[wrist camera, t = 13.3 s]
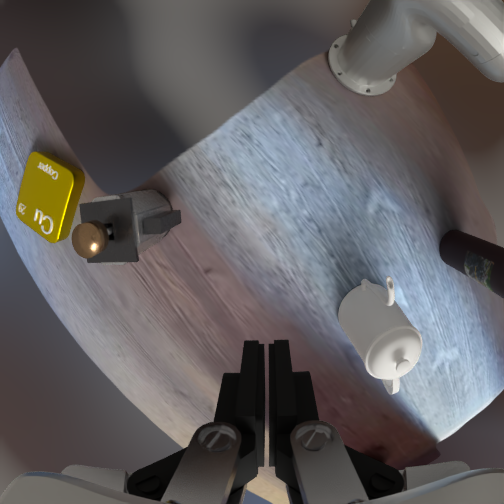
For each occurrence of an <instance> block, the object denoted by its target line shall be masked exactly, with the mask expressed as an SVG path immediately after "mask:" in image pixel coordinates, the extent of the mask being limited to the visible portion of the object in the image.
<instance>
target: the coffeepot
mask: <svg viewBox="0 0 504 504" xmlns="http://www.w3.org/2000/svg"><path fill="white" fill-rule="evenodd" d="M386 283H387V290H386V289H385V288H384V287H382V286H380V285H378V284H372V283H371V282H370V281H368V280H367V279H363V280H362V281H361V285H360V286H357V287H356V288H354V289H352V290H351V291H350V292H349V293H348V294H347V295H346V296H345V297H344V299H343V300H342V302H341V304H340V307H339V312H338V319H339V323H340V325H341V327H342V329H343V330H344V332H345V333H346V335H347V337H348V338H349V340H350V341H351V343H352V344H353V346H354V347H355V349H356V350H357V352H358V354H359V355H360V357H361V358H362V360H363V361H364V364H365V367H366V369H367V371H368V373H369V374H370V375H372V376H373V377H376V378H379V379H382V381H383V384H384V386H385V388H386V390H387V391H388V393H389V394H390V395H392V394H394V393H397V392H398V391H399V377H401V376H403V375H405V374H406V373H407V372H409V371H410V370H411V369H412V368H413V367H414V366H415V364H416V363H417V361H418V359H419V357H420V354H421V349H422V337H421V334H420V333H419V331H418V330H417V329H416V328H415V327H413V325H412V324H411V323H410V321H409V320H408V318H407V317H406V315H405V314H404V313H403V311H402V310H401V308H400V307H399V306H398V304H397V303H396V301H395V300H394V299H395V292H394V283H393V280H392V278H391V277H390V276H387V278H386ZM391 379H392V380H391ZM392 386H393V387H392Z"/></svg>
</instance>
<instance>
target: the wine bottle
mask: <svg viewBox="0 0 504 504" xmlns="http://www.w3.org/2000/svg"><path fill="white" fill-rule="evenodd" d="M440 256H441V258H442V260H443V261H444V262H445V263H446V264H448V265H449V266H451V267H453V268H455V269H456V270H458V271H460V272H462V273H463V274H465V275H467V276H468V277H470V278H472V279H473V280H475V281H477V282H478V283H480V284H482V285H483V286H485V287H486V288H488V289H490V290H491V291H493V292H494V293H496V294H497V295H499V296H501V297H502V298H504V248H503V247H500V246H498V245H495V244H493V243H490V242H488V241H485V240H483V239H480V238H477V237H475V236H472V235H469V234H467V233H464V232H461V231H458V230H452V231H449V232H448V233H446V234H445V236H444V237H443V239H442V241H441V244H440Z"/></svg>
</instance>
